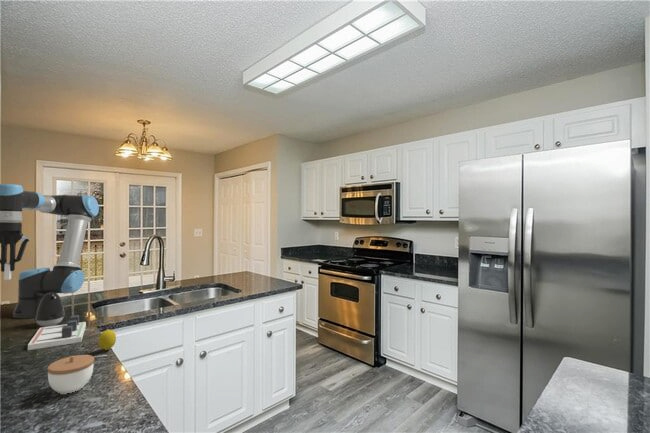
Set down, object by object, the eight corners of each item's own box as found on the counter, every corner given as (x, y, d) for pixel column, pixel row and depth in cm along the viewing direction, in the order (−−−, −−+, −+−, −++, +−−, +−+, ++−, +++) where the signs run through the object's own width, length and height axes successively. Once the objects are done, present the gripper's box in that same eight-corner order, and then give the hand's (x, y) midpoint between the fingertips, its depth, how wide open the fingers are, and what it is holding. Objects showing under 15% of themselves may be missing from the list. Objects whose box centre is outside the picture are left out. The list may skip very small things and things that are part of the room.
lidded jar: (40, 402, 86) (41, 367, 86) (55, 383, 96) (56, 352, 96) (88, 394, 91) (88, 361, 91) (97, 377, 100) (98, 347, 101)
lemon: (113, 346, 124) (114, 325, 124) (117, 350, 120) (117, 329, 120) (96, 350, 120) (97, 329, 121) (99, 354, 116) (100, 332, 117)
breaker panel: (39, 332, 138) (40, 327, 138) (85, 326, 146) (86, 321, 147) (27, 350, 119) (27, 344, 119) (81, 341, 128) (81, 336, 128)
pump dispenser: (38, 330, 140) (39, 296, 140) (32, 325, 146) (33, 292, 147) (67, 324, 148) (68, 292, 148) (60, 320, 154) (61, 288, 155)
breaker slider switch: (62, 335, 128) (63, 326, 128) (72, 334, 130) (72, 325, 130) (61, 337, 126) (61, 328, 126) (71, 336, 128) (71, 327, 128)
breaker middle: (68, 329, 136) (68, 320, 136) (76, 327, 137) (77, 319, 137) (67, 331, 133) (67, 322, 133) (76, 330, 135) (76, 321, 135)
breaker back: (70, 323, 142) (70, 316, 142) (78, 322, 144) (79, 315, 144) (69, 325, 140) (69, 317, 140) (78, 324, 141) (78, 316, 141)
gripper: (-17, 221, 124) (-19, 282, 123) (28, 222, 131) (26, 279, 131) (-10, 221, 130) (-12, 279, 130) (32, 221, 137) (31, 276, 137)
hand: (7, 279), depth 130 cm, fingers closed
